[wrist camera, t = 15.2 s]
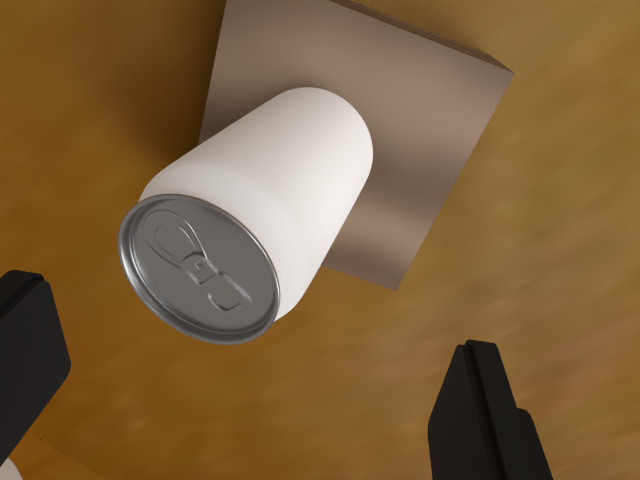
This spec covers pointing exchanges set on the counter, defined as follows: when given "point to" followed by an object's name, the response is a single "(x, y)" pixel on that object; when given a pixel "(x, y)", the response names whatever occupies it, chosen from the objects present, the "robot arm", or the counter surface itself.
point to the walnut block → (365, 110)
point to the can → (247, 216)
